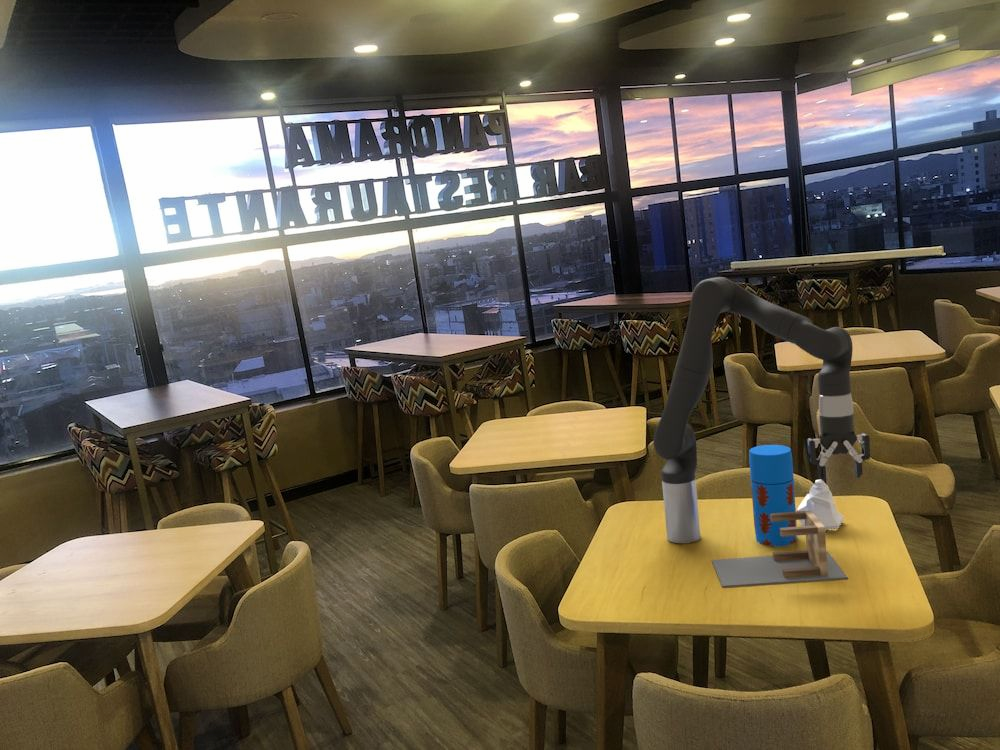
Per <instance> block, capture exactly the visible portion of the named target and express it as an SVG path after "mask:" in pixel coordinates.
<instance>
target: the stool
mask: <svg viewBox="0 0 1000 750" xmlns="http://www.w3.org/2000/svg"><path fill="white" fill-rule="evenodd" d="M801 519H805V526H803V525H800V526H797V527H786V528H780V535H781V536H782V537H785V536H797V537H798V536H805V544H806V549H805V550H791V551H777V552H776V551H775V552H772V555H773V559H774V561H782V560H796V559H810V561H811V562H812V564H813V565H814V566H815V567H803V568H789V569H783V576H784V578H790V577H805V576H819V575H828V571H827V554H826V552H827V539H826V531H825V527H824V525H823V524H822V523H821V522H820V521H819V520H818V518H817V517H816V516H815V515H814V514H813V513H812V511H811V510H809V511H797V510H796V512H784V513H771V514H770V520H771V522H776V521H788V520H796V521H797V520H798V521H800V520H801Z"/></svg>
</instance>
